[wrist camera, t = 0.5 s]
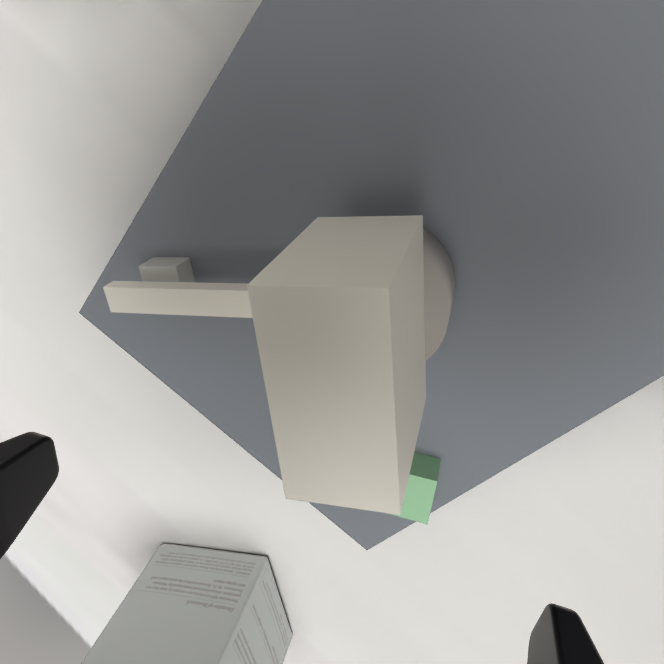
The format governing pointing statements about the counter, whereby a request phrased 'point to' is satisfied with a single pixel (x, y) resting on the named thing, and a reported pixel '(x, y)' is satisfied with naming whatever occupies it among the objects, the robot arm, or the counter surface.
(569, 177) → the dial plate
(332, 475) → the tuning peg
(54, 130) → the counter surface
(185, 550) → the supplement box
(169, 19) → the counter surface
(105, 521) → the counter surface
